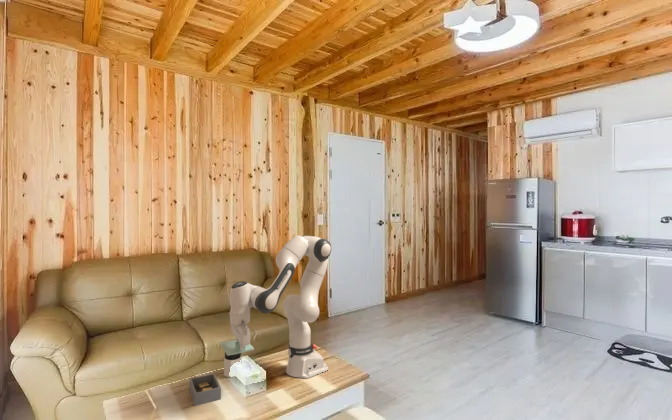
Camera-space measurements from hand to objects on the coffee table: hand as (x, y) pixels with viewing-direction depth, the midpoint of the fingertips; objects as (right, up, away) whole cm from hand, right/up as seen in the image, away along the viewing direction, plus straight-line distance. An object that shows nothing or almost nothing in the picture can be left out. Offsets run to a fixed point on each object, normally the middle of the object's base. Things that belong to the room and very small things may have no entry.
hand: (240, 347), depth 162 cm
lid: (-3, -2, +6) cm, 7 cm away
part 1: (-18, -21, +3) cm, 28 cm away
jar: (-9, -22, +20) cm, 31 cm away
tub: (-16, -22, 0) cm, 27 cm away
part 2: (-14, -21, -2) cm, 26 cm away
